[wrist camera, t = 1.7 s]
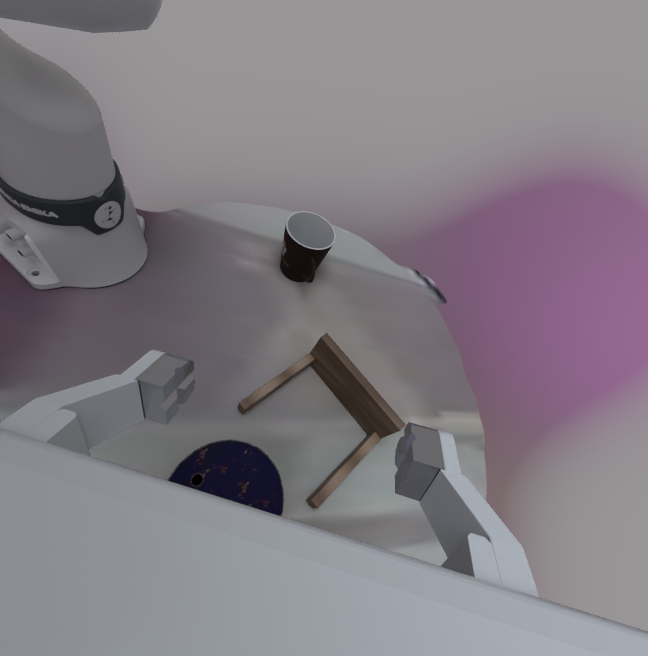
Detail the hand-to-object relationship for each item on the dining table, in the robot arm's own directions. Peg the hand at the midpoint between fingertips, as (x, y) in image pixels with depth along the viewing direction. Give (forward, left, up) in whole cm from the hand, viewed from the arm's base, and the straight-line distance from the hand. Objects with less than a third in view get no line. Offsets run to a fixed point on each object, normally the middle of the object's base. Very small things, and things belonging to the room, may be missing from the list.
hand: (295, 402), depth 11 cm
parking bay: (+5, +11, -33) cm, 36 cm away
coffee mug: (-11, +34, -34) cm, 49 cm away
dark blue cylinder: (0, -3, -34) cm, 34 cm away
